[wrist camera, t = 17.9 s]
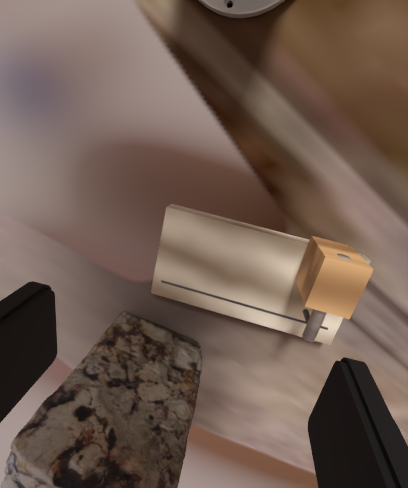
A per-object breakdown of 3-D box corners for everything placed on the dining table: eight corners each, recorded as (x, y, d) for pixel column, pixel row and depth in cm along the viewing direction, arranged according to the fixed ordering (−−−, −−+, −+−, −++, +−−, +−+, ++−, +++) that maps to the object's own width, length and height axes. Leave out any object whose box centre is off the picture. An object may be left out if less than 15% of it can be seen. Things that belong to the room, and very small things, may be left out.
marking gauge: (311, 235, 29) (325, 256, 24) (350, 245, 29) (373, 269, 23) (283, 308, 32) (290, 341, 27) (318, 317, 32) (332, 354, 27)
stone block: (111, 343, 41) (-8, 509, 22) (119, 303, 38) (-6, 453, 20) (198, 375, 40) (151, 574, 21) (212, 336, 38) (174, 523, 19)
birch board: (171, 203, 33) (166, 206, 31) (363, 254, 31) (370, 261, 29) (155, 285, 36) (150, 293, 35) (325, 334, 35) (330, 345, 33)
